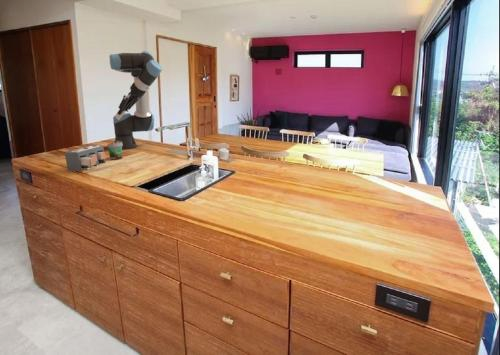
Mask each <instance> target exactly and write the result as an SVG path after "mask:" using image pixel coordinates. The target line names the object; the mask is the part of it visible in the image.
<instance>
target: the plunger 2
mask: <svg viewBox="0 0 500 355" xmlns="http://www.w3.org/2000/svg"><path fill="white" fill-rule="evenodd" d="M97 153H98V159H99V160H102V159H105V160H106V152H105V151H104V152H97Z"/></svg>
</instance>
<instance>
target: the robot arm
mask: <svg viewBox="0 0 500 355" xmlns="http://www.w3.org/2000/svg"><path fill="white" fill-rule="evenodd" d="M109 65H110V69H111V70H114V71H115V72H119V73H125V74H127V73H128V74H129V73H130V76H131V77H133V83H132V84H131V85H130V87H129V90H130V92H128V94H127V95H125V94H124V95H123V96H122V97H123V98H122V100H121V101H120V103H119V105H118V109H119V110H118V111H117V112H116V114H115V115H113V117H112V118H113V129H114V135H115V136H114V141H113V143H115V142H116V141H121V142H122V144H123V146H122V150H131V149H135V148H137V147H138V146H137V142H136V140H135V137H134V133H137V132H138V133H140V132H151V131H153V130H154V127H155V116H154V114H153V113H152V112H151V111H150V102H149V100H150V99H149V90H150V87H151V86H152V85H153V83H154V82H155V80H157V78H158V77H159V76H160V74H161V73H162V71H163V68H162V66H161V65H160V63H159V62H157V61H156V60H155V58H154V56H153V55H152V53H151V52H149V51H146V50H143V51H141V52H121V53H120V52H119V53H115V54H112V53H110V54H109ZM134 105H135V110H134V112H133V114H131V113H130V112H129V110H131V109H132V107H134Z"/></svg>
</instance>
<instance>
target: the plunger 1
mask: <svg viewBox="0 0 500 355" xmlns="http://www.w3.org/2000/svg"><path fill="white" fill-rule="evenodd" d="M80 162H81V165H85V166H91V167H92V166H93V165H96V160H95V158H92V157H81V158H80ZM93 167H94V166H93Z"/></svg>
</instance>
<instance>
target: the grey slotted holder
mask: <svg viewBox="0 0 500 355" xmlns="http://www.w3.org/2000/svg"><path fill="white" fill-rule="evenodd" d="M97 152H105V150H104V145H97V144H95V145H94V144H93V145H86V146H81V147H79V148H75V149H71V150H68V151H64V156H65V161H66V168H67V171H69V172H80V171H81V172H83V169H82V168H90V169H91V168H92V166H85V165H81V162H80V158H81V157H89V154H96V155H97V160H98V161H96V165H93V167H98V166H100V164H106V158H105V159H102V160H99V159H98V153H97ZM97 165H98V166H97Z"/></svg>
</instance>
